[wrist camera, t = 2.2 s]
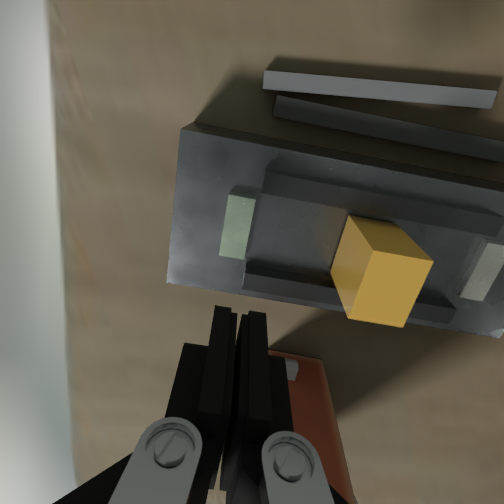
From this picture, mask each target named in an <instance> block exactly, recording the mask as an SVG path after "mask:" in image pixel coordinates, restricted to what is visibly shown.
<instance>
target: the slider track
mask: <svg viewBox="0 0 504 504" xmlns="http://www.w3.org/2000/svg"><path fill="white" fill-rule="evenodd" d="M349 215H352V216H357V217H363V218H368V219H373V220H379V221H384V222H390V223H395V224H397V225H398V226H399V227H400V228H401V229H402V230H403V231H404V232H405V233H406V234H407V235H408V236H409V237H410V238H411V239H412V240H413V241H414V242H415V243H416V244H417V245H418V246H419V247H420V248H421V249H422V250H423V251H424V252H425V253H426V254H427V255H428V256H429V257H430V258H431V259H432V260H433V261H434V262H433V264H432V266H431V269H430V271H429V273H428V275H427V277H426V279H425V281H424V283H423V286H422V288H421V290H420V292H419V294H418V296H417V298H416V301H415V303H414V305H413V307H412V309H411V311H410V313H409V316H408V318H407V320H406V323H412V324H418V325H423V326H429V327H435V328H441V329H447V330H453V331H459V332H465V333H471V334H477V335H483V336H489V337H495V338H500V337H501V336H502V334H503V332H504V183H499V182H493V181H488V180H483V179H478V178H473V177H468V176H463V175H458V174H453V173H448V172H443V171H438V170H433V169H428V168H423V167H418V166H413V165H407V164H402V163H397V162H392V161H387V160H382V159H377V158H372V157H367V156H362V155H357V154H352V153H347V152H342V151H337V150H332V149H326V148H321V147H316V146H311V145H306V144H301V143H296V142H291V141H286V140H281V139H276V138H271V137H266V136H261V135H256V134H251V133H246V132H240V131H235V130H230V129H225V128H220V127H215V126H210V125H205V124H200V123H195V122H193V123H191V124H189V125H187V126H185V127H183V128H181V130H180V141H179V152H178V163H177V174H176V185H175V196H174V207H173V218H172V229H171V240H170V252H169V263H168V274H167V283H173V284H179V285H185V286H191V287H197V288H203V289H209V290H215V291H221V292H227V293H233V294H239V295H245V296H251V297H257V298H263V299H269V300H275V301H281V302H287V303H293V304H298V305H304V306H310V307H316V308H322V309H328V310H334V311H340V312H345V310H344V307H343V304H342V302H341V299H340V297H339V294H338V291H337V289H336V286H335V283H334V281H333V278H332V276H331V273H330V271H331V268H332V265H333V262H334V259H335V255H336V252H337V249H338V246H339V243H340V240H341V237H342V234H343V231H344V228H345V225H346V222H347V219H348V216H349Z"/></svg>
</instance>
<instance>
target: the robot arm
mask: <svg viewBox="0 0 504 504" xmlns="http://www.w3.org/2000/svg"><path fill="white" fill-rule="evenodd" d="M236 327H237V313H232V312H231V308H229V307H222V306H216V305H215V310H214V316H213V322H212V328H211V334H210V340H209V346H204V345H197V344H190V343H184V346H183V349H182V353H181V357H180V361H179V364H178V368H177V372H176V376H175V380H174V384H173V387H172V391H171V395H170V399H169V403H168V407H167V410H166V414H165V418H162V419H160V420H158V421H156V422H154V423H152V424H151V425H150V426H149V427H147V428H146V430H145V431H144V433H143V434H142V436H141V437H140V439H139V441H138V443H137V445H136V447H135V450H134V452H133V453H131V454H129V455H128V456H126V457H125V458H123V459H122V460H120V461H119V462H117V463H115V464H114V465H112V466H111V467H109V468H108V469H106V470H105V471H103V472H101V473H100V474H98V475H97V476H95V477H94V478H92V479H90V480H89V481H87V482H86V483H84V484H83V485H81V486H80V487H78V488H77V489H75V490H74V491H72V492H70V493H69V494H67V495H65V496H64V497H62V498H61V499H59V500H58V501H56V502H55V503H53V504H205V503H206V499H207V494H208V490H209V489H214V486H215V481H216V477H217V473H218V468H219V464H220V460H221V455H222V463H221V476H220V490H222V491H227V493H226V504H349V503H348V502H347V501H346V500H345V499H344V498H343V497H342V496H341V495H340V494H339V493H338V492H337V491H336V490H335V489H334V488H333V487H332V486H331V485H330V484H329V483H328V482H327V479H326V476H325V473H324V469H323V466H322V463H321V460H320V457H319V455H318V453H317V451H316V449H315V448H314V446H313V445H312V444H311V443H310V442H309V441H308V440H307V439H305V438H304V437H303V436H301V435H299V434H297V433H294V428H293V420H292V411H291V403H290V394H289V386H288V378H287V369H286V362H285V358H284V357H281V356H274V355H269V354H268V338H267V321H266V313H262V312H255V311H249V313H248V315H245V314H242V317H241V321H240V326H239V331H238V335H237V340H236ZM235 342H236V345H235Z"/></svg>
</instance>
